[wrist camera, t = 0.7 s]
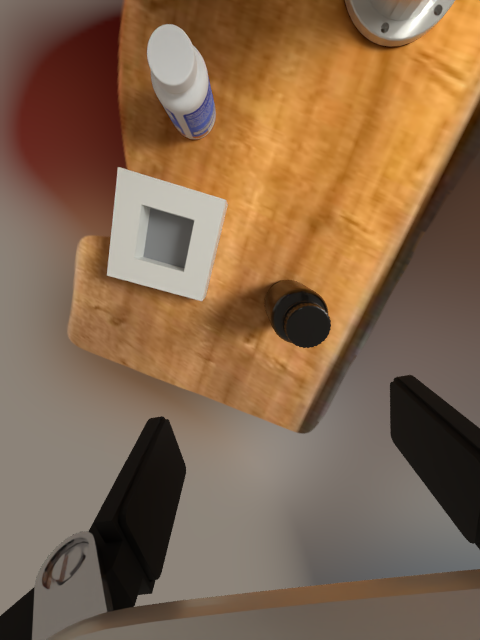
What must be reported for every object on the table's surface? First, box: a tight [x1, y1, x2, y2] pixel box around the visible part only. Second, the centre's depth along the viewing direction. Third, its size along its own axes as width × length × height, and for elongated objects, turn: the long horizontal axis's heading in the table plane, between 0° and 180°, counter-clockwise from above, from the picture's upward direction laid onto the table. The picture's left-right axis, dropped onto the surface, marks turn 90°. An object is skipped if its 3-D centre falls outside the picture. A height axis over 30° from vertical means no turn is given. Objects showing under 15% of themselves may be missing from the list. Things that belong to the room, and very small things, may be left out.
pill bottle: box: [147, 24, 216, 139], centre depth 24 cm, size 6×5×10 cm
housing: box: [107, 167, 228, 301], centre depth 32 cm, size 13×13×4 cm
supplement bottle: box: [265, 280, 331, 348], centre depth 30 cm, size 7×7×12 cm
